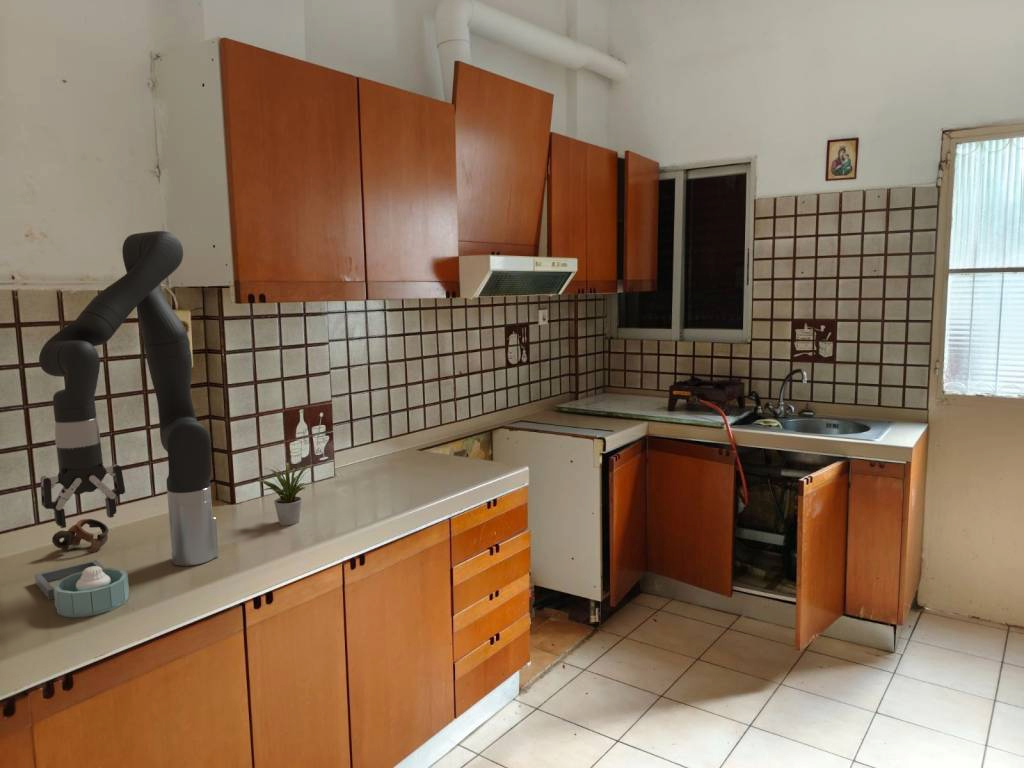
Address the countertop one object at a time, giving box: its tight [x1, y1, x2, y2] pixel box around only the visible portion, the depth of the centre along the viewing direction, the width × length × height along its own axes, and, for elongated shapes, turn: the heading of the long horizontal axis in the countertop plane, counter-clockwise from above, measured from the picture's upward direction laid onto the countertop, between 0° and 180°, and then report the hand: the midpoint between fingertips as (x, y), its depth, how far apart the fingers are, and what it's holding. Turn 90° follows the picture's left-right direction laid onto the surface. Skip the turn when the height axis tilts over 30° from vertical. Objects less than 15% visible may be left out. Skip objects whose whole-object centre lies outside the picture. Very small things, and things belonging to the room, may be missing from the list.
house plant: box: [258, 462, 314, 526], centre depth 201 cm, size 14×14×16 cm
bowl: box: [52, 567, 130, 619], centre depth 150 cm, size 13×13×5 cm
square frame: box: [34, 559, 105, 601], centre depth 161 cm, size 12×12×2 cm
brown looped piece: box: [51, 518, 109, 553], centre depth 180 cm, size 12×10×8 cm
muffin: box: [76, 566, 111, 591], centre depth 150 cm, size 6×6×7 cm
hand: (87, 521), depth 148 cm, fingers open, 8 cm apart
